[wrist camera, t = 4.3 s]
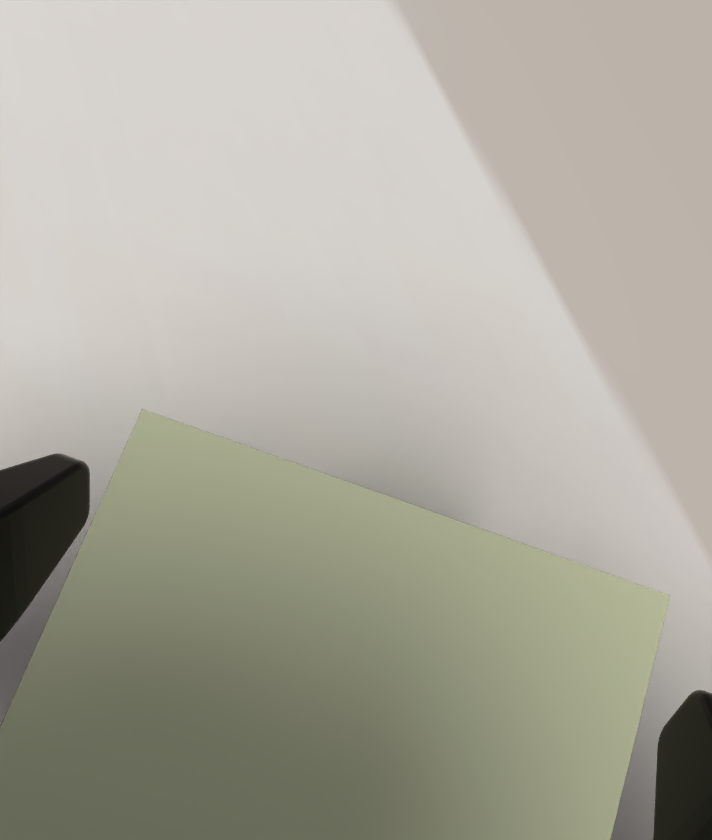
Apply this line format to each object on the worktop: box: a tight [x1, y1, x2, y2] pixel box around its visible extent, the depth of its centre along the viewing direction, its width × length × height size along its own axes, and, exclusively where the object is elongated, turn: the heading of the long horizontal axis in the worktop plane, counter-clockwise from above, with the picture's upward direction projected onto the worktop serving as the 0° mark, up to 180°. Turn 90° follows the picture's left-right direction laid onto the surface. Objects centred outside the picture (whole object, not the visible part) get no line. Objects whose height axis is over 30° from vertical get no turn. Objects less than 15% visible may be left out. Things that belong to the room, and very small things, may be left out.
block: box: [0, 409, 670, 840], centre depth 10 cm, size 4×4×10 cm
